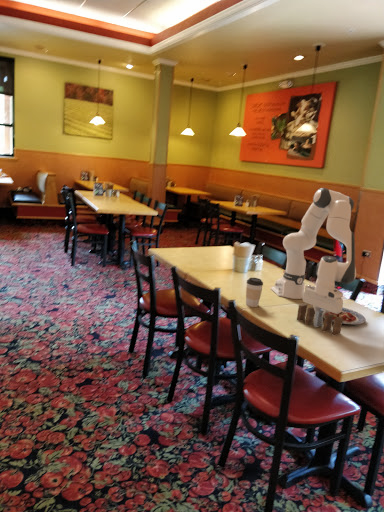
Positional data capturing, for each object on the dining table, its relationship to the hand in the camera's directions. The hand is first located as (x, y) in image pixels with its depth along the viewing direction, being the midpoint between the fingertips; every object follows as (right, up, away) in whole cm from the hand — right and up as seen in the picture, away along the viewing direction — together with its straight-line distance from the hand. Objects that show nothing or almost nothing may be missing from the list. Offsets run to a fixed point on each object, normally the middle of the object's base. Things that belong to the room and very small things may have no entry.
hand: (319, 316), depth 206 cm
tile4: (+3, -7, -2) cm, 7 cm away
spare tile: (-1, -5, +1) cm, 5 cm away
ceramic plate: (+16, -4, +17) cm, 24 cm away
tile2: (-4, -4, +5) cm, 7 cm away
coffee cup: (-30, +3, +24) cm, 39 cm away
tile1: (-7, -3, +8) cm, 11 cm away
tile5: (+6, -8, -6) cm, 11 cm away
